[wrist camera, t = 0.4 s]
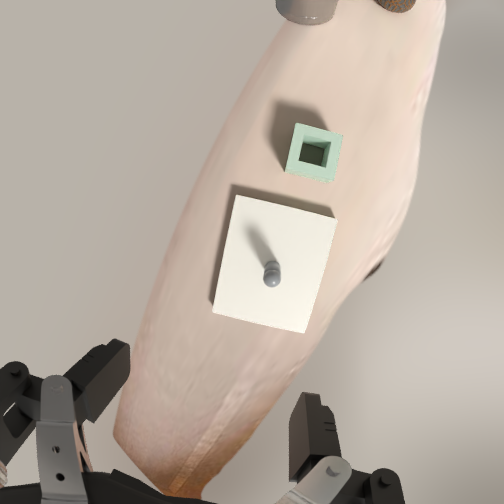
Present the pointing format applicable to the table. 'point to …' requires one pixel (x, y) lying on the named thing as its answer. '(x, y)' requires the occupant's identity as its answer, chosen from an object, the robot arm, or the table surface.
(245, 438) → the table surface
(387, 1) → the vase
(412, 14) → the table surface
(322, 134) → the collar
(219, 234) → the table surface
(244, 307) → the plate
